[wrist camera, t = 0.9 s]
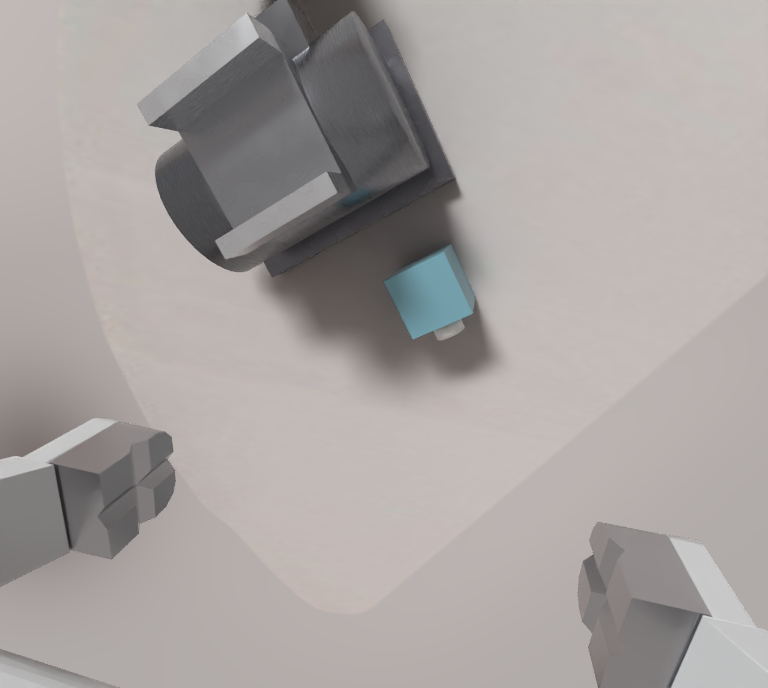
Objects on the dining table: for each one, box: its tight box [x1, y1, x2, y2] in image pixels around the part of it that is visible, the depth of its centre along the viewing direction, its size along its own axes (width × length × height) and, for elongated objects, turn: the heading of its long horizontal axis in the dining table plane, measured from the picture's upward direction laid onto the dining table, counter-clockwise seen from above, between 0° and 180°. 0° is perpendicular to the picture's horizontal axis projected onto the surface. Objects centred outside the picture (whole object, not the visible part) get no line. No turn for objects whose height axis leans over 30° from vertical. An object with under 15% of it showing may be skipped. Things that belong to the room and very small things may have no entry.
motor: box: [137, 0, 456, 277], centre depth 30 cm, size 19×13×14 cm
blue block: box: [383, 244, 476, 341], centre depth 36 cm, size 5×6×6 cm
